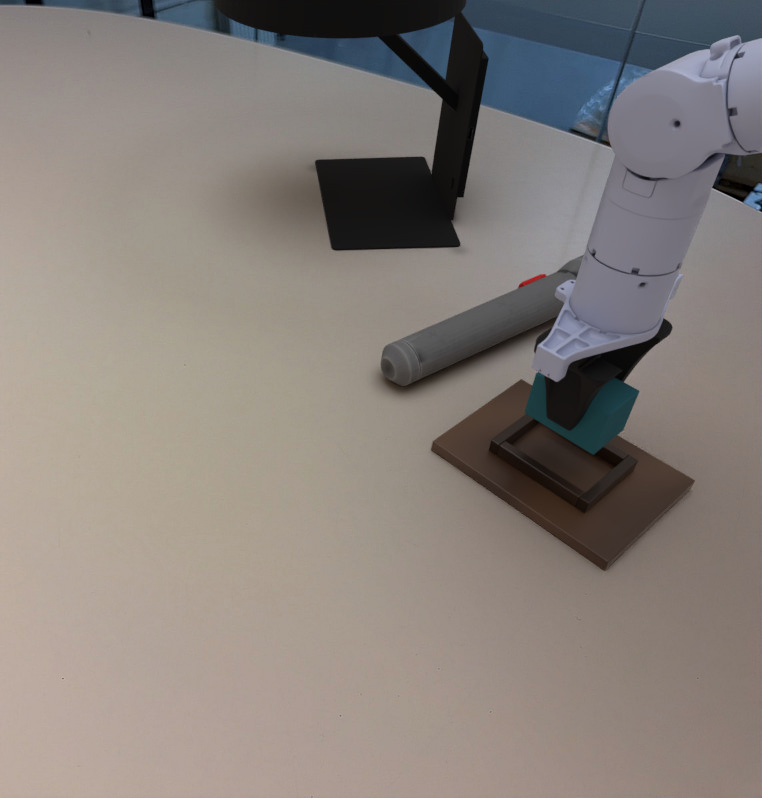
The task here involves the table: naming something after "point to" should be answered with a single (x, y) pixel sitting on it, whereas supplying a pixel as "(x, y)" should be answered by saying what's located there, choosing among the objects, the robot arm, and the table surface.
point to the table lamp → (393, 176)
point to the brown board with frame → (563, 477)
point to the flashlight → (476, 328)
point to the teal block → (589, 413)
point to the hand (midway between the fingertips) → (578, 408)
